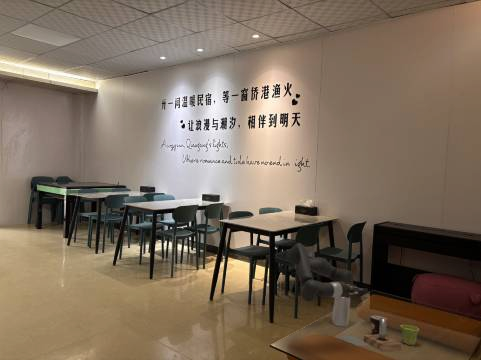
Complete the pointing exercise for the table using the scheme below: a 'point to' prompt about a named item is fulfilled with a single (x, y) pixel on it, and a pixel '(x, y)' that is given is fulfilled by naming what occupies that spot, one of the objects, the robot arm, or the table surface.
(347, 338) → the mat
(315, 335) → the table surface
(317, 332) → the table surface
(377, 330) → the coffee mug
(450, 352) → the table surface
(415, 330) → the plant pot
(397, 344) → the socket block
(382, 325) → the steel pin
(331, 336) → the table surface
